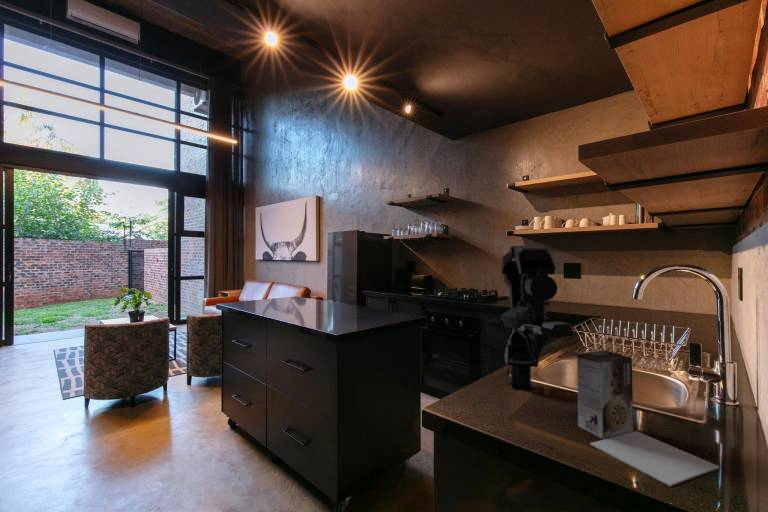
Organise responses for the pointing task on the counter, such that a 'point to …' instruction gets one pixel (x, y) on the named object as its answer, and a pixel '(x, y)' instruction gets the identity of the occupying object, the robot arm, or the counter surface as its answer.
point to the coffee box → (605, 393)
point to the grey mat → (655, 457)
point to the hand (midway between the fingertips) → (534, 359)
